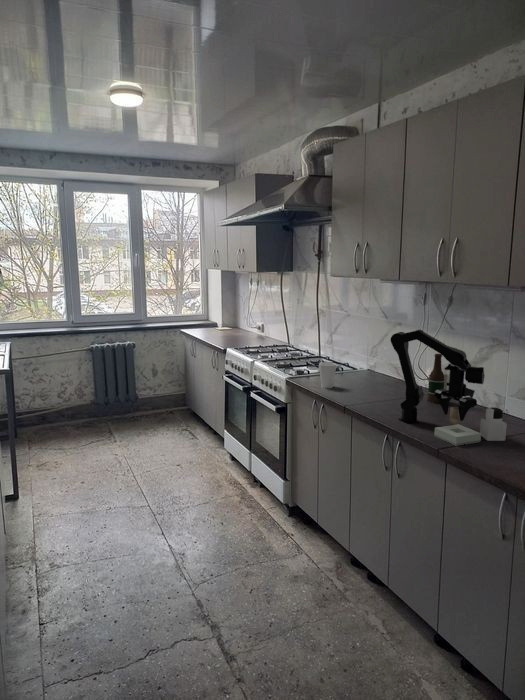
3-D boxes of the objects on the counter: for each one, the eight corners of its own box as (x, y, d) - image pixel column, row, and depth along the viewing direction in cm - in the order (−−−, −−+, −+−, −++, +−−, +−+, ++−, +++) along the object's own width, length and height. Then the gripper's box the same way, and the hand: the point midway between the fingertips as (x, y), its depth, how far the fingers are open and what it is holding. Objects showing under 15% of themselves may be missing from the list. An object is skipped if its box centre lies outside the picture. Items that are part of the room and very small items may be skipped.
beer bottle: (424, 401, 255) (427, 354, 251) (431, 398, 261) (434, 352, 257) (439, 404, 250) (442, 356, 246) (446, 401, 256) (449, 354, 252)
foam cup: (331, 384, 290) (331, 361, 288) (338, 388, 282) (339, 365, 279) (315, 385, 287) (316, 362, 285) (322, 389, 279) (323, 366, 276)
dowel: (447, 427, 214) (448, 406, 213) (453, 426, 216) (454, 406, 214) (452, 429, 212) (454, 409, 210) (459, 429, 213) (460, 408, 211)
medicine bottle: (496, 434, 206) (499, 406, 204) (505, 441, 199) (508, 411, 197) (479, 435, 205) (481, 406, 203) (487, 441, 198) (490, 411, 196)
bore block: (434, 436, 204) (434, 427, 203) (458, 432, 208) (458, 424, 208) (455, 445, 193) (456, 437, 192) (480, 442, 197) (481, 433, 197)
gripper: (488, 384, 205) (485, 422, 207) (455, 375, 222) (453, 409, 224) (467, 386, 201) (464, 425, 203) (434, 376, 218) (432, 412, 220)
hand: (453, 417), depth 213 cm, fingers open, 9 cm apart
